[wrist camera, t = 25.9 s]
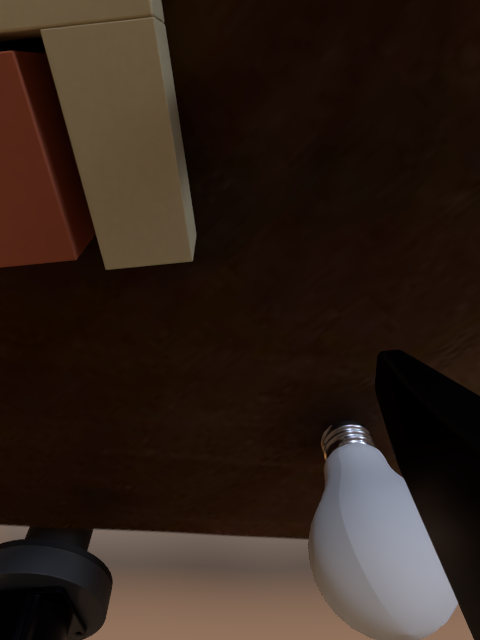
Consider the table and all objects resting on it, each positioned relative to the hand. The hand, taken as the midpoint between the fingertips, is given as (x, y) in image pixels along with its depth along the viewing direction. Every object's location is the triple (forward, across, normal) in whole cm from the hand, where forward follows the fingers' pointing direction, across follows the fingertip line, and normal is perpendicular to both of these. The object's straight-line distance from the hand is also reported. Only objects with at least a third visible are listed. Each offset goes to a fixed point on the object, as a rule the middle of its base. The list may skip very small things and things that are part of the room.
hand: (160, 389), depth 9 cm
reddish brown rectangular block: (+12, +7, -3) cm, 14 cm away
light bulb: (+12, -7, +14) cm, 20 cm away
